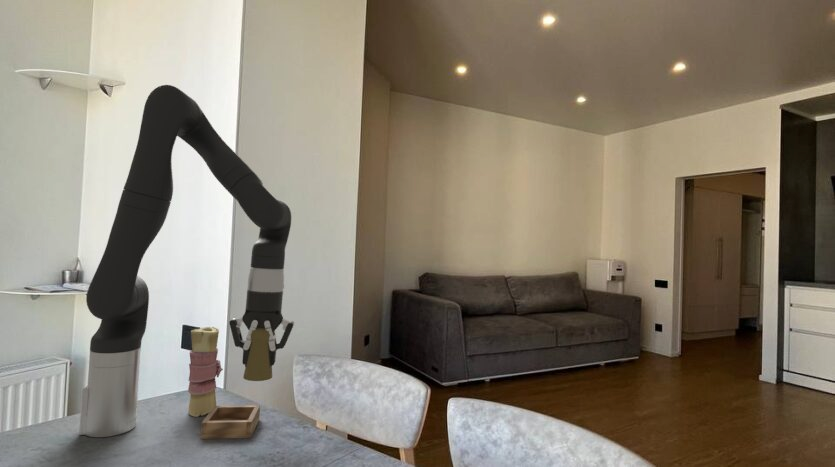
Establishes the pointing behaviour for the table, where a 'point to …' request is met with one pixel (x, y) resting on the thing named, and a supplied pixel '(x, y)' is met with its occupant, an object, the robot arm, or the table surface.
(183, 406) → the table surface
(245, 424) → the wooden tray
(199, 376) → the scroll
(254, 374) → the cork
